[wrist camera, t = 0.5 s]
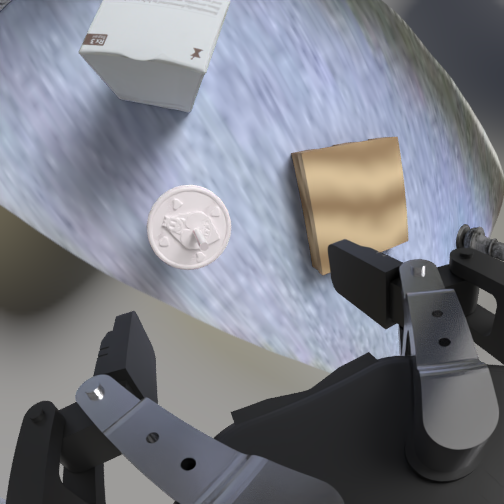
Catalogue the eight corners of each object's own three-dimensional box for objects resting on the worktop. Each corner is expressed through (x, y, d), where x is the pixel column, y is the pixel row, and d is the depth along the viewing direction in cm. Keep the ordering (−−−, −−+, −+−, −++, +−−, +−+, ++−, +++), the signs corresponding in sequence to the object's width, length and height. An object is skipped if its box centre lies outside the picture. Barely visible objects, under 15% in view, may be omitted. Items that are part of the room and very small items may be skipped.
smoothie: (200, 247, 32) (227, 303, 19) (143, 230, 30) (130, 278, 17) (220, 191, 31) (262, 210, 18) (163, 172, 29) (161, 175, 16)
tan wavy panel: (289, 153, 32) (301, 152, 29) (382, 137, 35) (397, 136, 32) (311, 267, 37) (322, 275, 34) (394, 235, 39) (408, 240, 37)
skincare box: (205, 66, 27) (241, -2, 13) (189, 117, 28) (212, 75, 14) (131, 51, 24) (114, -25, 10) (113, 102, 25) (74, 52, 11)
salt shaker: (452, 239, 44) (504, 258, 33) (466, 216, 44) (517, 231, 33) (460, 259, 46) (508, 279, 35) (473, 236, 46) (521, 253, 35)
